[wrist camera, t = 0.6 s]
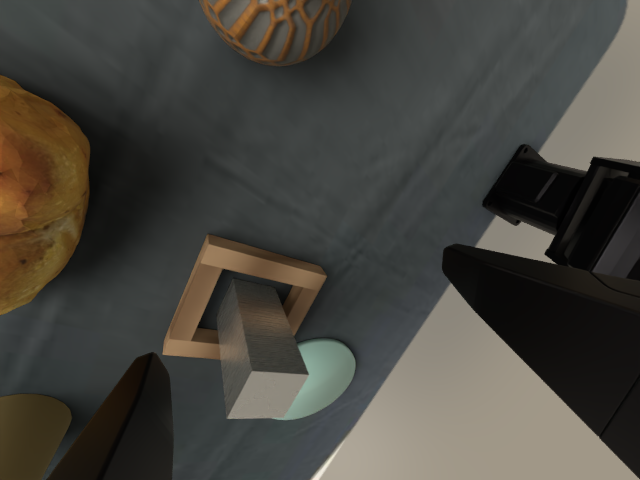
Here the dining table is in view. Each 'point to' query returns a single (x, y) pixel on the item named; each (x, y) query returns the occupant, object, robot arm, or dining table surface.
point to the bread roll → (38, 192)
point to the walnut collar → (245, 260)
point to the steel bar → (257, 353)
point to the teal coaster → (322, 376)
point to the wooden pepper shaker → (30, 434)
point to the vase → (276, 27)
